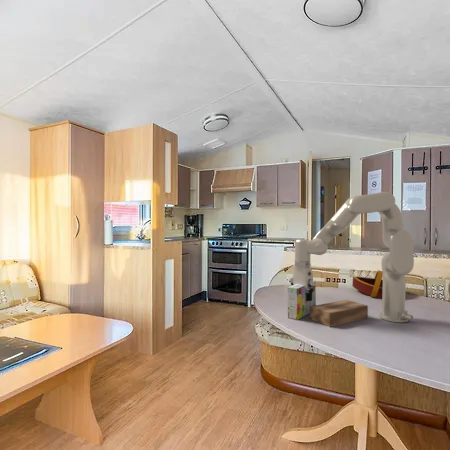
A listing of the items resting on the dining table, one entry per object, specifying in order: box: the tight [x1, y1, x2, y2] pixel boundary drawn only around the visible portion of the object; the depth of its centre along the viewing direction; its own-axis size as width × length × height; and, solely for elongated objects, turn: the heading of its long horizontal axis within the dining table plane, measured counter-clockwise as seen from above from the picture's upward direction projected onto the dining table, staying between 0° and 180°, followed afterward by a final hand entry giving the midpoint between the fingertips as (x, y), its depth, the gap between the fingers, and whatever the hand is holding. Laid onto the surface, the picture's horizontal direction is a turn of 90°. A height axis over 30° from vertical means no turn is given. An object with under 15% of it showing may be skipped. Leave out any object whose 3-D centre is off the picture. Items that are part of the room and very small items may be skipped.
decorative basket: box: [351, 269, 383, 299], centre depth 198 cm, size 34×29×15 cm
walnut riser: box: [309, 299, 369, 328], centre depth 146 cm, size 12×25×6 cm, turn 118°
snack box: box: [287, 280, 317, 321], centre depth 154 cm, size 21×6×15 cm, turn 141°
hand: (302, 298), depth 154 cm, fingers open, 9 cm apart
